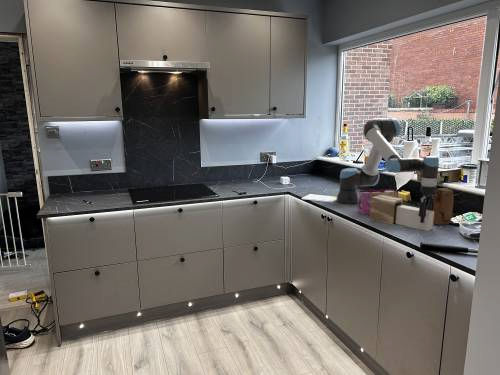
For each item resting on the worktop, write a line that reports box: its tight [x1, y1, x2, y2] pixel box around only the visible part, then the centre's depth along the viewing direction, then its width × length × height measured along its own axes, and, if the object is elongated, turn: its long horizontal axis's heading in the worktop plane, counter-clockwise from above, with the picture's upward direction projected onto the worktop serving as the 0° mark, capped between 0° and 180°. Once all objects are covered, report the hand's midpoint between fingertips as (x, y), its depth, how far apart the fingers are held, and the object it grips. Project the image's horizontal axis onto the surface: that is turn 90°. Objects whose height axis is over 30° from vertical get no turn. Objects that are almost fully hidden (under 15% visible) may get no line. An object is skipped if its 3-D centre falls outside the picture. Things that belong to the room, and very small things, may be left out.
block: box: [433, 187, 454, 226], centre depth 211 cm, size 11×8×20 cm
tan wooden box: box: [369, 195, 404, 225], centre depth 219 cm, size 10×14×13 cm
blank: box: [395, 204, 434, 232], centre depth 207 cm, size 6×18×10 cm, turn 42°
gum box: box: [357, 189, 399, 215], centre depth 237 cm, size 24×8×14 cm, turn 97°
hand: (424, 226), depth 204 cm, fingers closed on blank, 6 cm apart
